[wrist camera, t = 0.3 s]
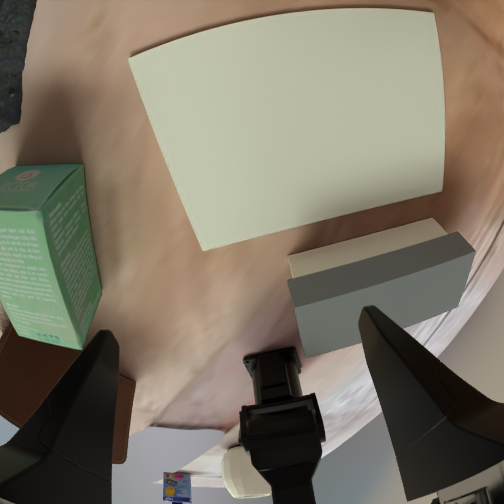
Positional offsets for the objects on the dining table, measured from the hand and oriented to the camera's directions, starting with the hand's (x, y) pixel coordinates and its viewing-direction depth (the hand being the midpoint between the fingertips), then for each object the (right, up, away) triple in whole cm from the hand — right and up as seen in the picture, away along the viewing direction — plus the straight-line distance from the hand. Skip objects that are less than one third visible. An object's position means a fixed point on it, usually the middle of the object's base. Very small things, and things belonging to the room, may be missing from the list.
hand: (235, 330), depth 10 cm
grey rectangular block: (+12, 0, +15) cm, 19 cm away
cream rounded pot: (-1, -45, +52) cm, 69 cm away
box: (-16, +5, +12) cm, 21 cm away
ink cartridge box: (-27, -78, +74) cm, 111 cm away
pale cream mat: (+5, +12, +9) cm, 16 cm away
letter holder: (-26, -12, +24) cm, 38 cm away
